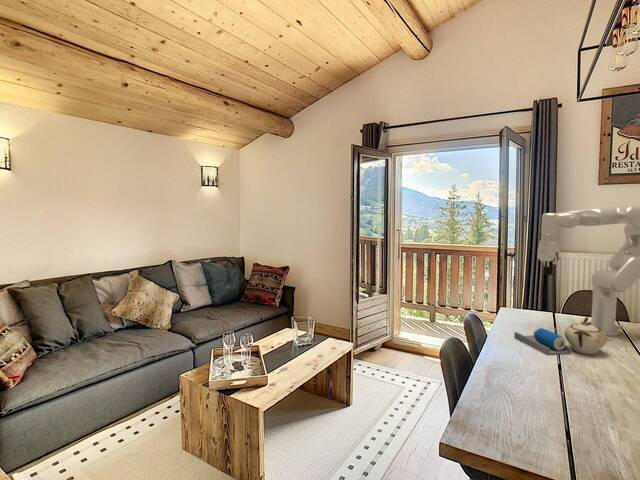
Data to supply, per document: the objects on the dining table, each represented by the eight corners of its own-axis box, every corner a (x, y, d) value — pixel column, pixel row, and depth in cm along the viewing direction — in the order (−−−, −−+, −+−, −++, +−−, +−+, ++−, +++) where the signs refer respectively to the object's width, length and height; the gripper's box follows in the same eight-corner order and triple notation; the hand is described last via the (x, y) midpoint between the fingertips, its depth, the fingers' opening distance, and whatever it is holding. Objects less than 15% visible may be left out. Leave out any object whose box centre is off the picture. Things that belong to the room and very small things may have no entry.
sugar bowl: (600, 361, 150) (603, 325, 149) (558, 351, 161) (559, 317, 160) (610, 349, 163) (612, 316, 162) (570, 341, 174) (571, 309, 173)
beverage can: (542, 343, 172) (562, 353, 160) (531, 338, 171) (550, 348, 159) (548, 330, 172) (569, 339, 160) (536, 325, 171) (556, 334, 159)
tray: (535, 336, 180) (535, 331, 180) (571, 353, 158) (571, 347, 158) (514, 337, 179) (514, 332, 179) (547, 355, 157) (547, 348, 157)
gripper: (532, 237, 192) (530, 272, 193) (553, 239, 177) (552, 277, 178) (545, 237, 193) (544, 272, 194) (568, 239, 178) (566, 277, 179)
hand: (548, 274), depth 186 cm, fingers closed
